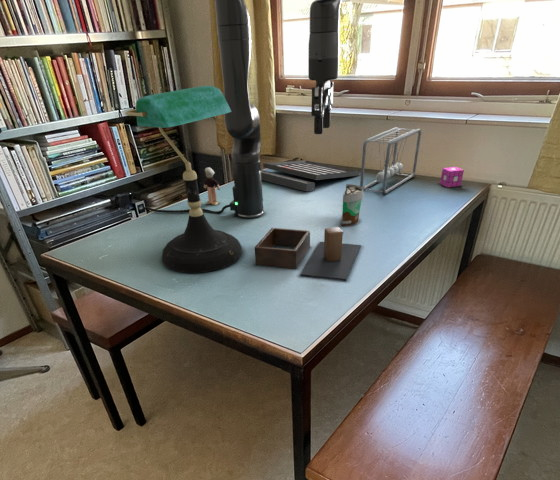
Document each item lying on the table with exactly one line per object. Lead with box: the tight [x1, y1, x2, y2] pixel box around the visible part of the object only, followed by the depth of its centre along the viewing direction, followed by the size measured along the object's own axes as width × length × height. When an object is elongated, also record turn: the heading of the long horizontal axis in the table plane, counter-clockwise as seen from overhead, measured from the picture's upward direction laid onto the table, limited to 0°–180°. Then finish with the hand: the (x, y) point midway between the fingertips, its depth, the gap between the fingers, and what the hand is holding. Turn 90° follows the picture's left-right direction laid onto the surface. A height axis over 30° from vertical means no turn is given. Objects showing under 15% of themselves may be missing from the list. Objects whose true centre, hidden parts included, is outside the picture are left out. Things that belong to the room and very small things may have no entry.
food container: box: [341, 183, 365, 227], centre depth 135 cm, size 12×6×10 cm, turn 168°
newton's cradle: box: [359, 126, 422, 195], centre depth 163 cm, size 30×10×18 cm, turn 144°
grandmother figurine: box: [203, 167, 221, 206], centre depth 154 cm, size 8×4×13 cm, turn 68°
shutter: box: [261, 159, 360, 192], centre depth 181 cm, size 32×7×31 cm
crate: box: [254, 227, 311, 270], centre depth 117 cm, size 12×15×5 cm
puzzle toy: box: [439, 166, 465, 188], centre depth 163 cm, size 6×6×6 cm
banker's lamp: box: [125, 85, 243, 274], centre depth 109 cm, size 26×23×40 cm
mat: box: [299, 241, 362, 282], centre depth 115 cm, size 12×22×1 cm, turn 162°
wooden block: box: [323, 226, 344, 262], centre depth 113 cm, size 4×4×8 cm
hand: (322, 130), depth 114 cm, fingers open, 8 cm apart
